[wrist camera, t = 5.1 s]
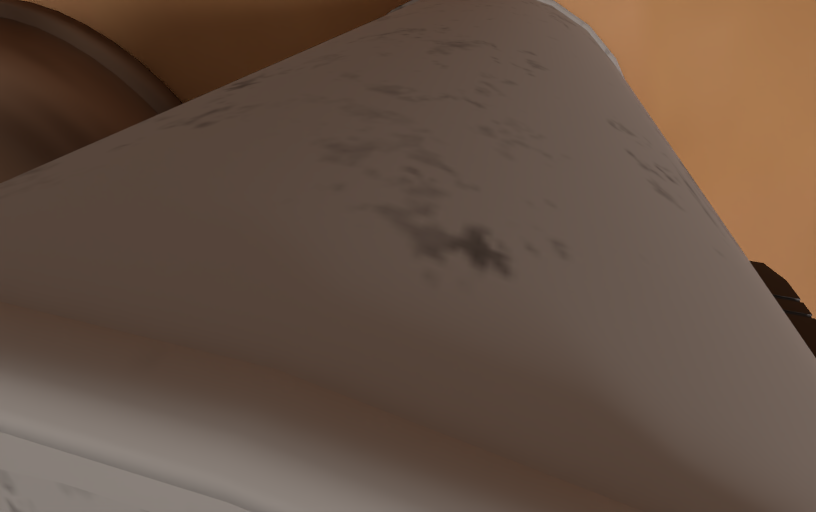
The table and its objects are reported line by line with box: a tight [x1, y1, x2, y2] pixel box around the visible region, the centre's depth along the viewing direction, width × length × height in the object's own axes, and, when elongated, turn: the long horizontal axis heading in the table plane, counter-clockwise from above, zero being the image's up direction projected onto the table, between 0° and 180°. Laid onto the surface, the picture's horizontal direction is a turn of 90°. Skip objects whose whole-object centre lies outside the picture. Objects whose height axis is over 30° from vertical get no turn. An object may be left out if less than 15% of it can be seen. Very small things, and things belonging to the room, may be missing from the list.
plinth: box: [0, 0, 182, 183], centre depth 16 cm, size 15×15×5 cm
